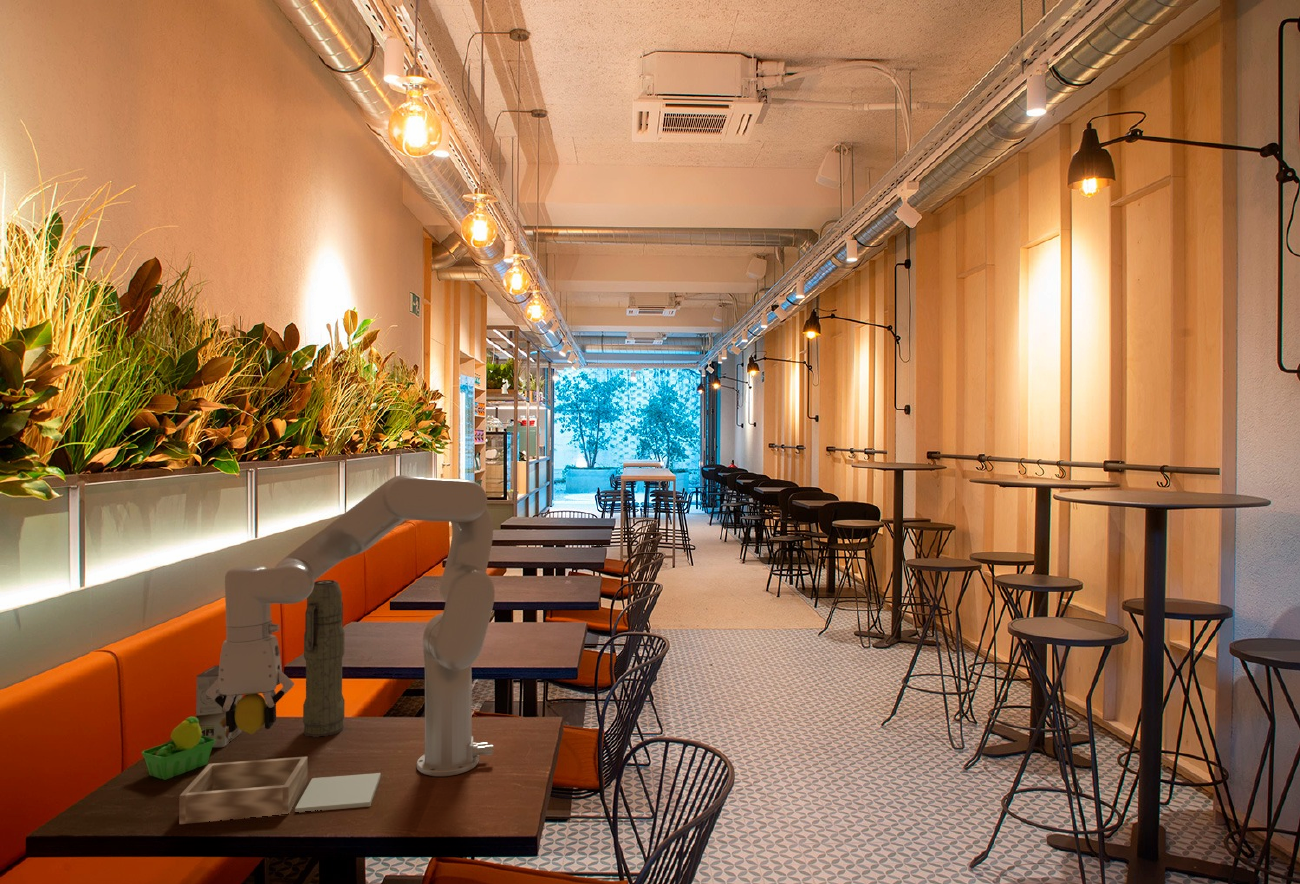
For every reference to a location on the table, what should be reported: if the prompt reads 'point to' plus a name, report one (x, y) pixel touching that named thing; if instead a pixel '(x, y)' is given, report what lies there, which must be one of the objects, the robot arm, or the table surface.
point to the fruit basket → (179, 751)
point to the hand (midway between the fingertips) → (251, 727)
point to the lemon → (250, 713)
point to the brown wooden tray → (243, 790)
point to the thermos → (324, 660)
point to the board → (339, 792)
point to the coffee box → (212, 711)
